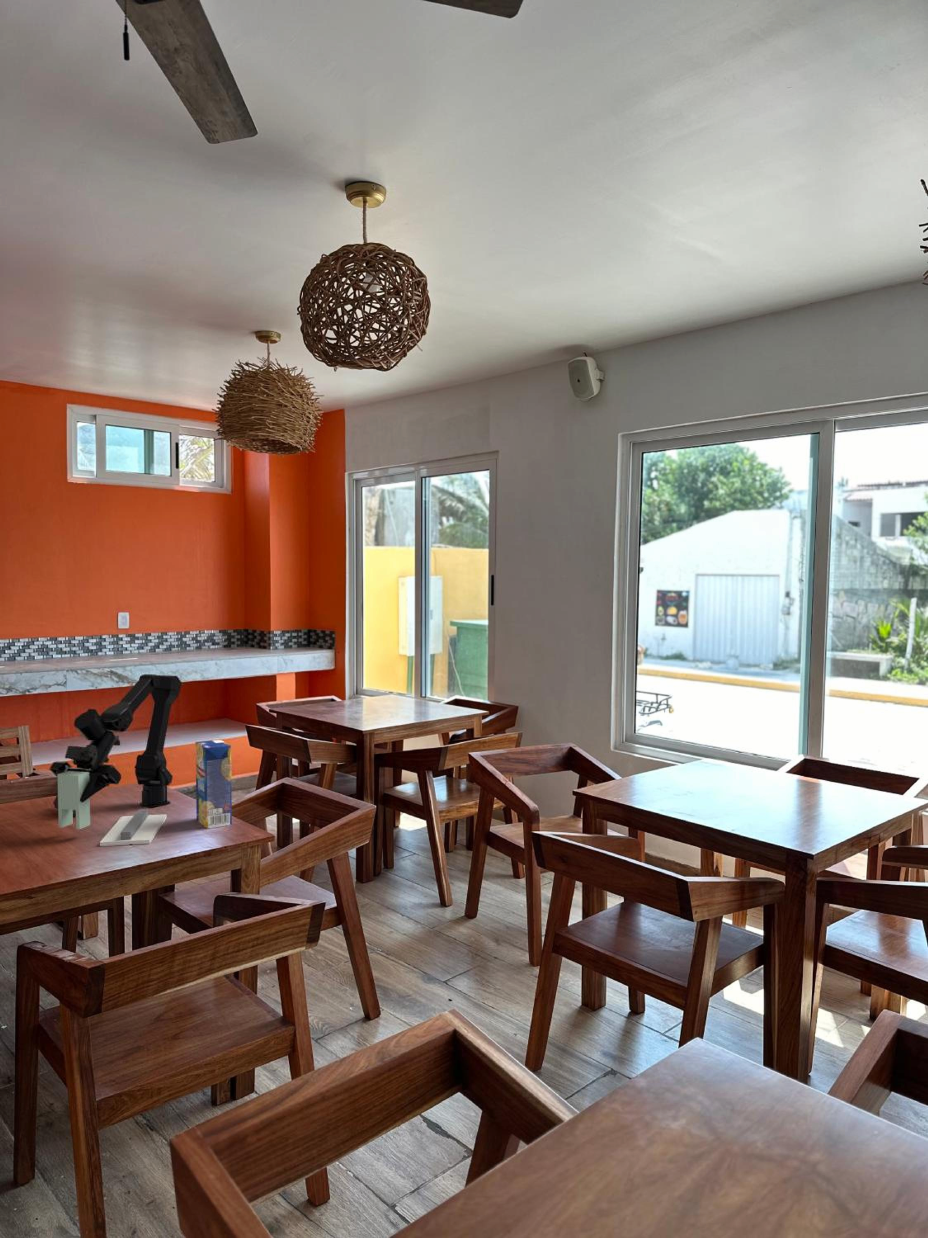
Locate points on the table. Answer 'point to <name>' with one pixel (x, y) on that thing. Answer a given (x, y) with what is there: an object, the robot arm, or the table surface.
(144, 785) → the robot arm
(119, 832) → the rail
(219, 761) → the beverage box
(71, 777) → the clip
